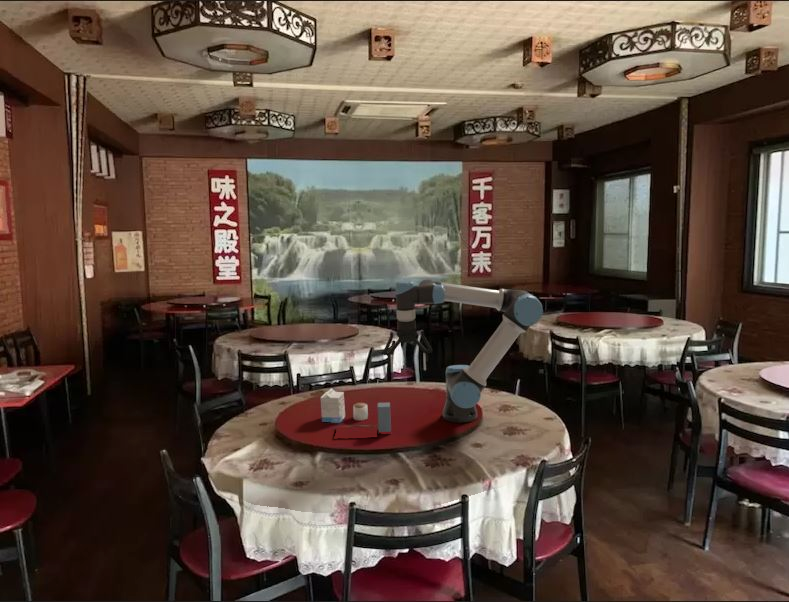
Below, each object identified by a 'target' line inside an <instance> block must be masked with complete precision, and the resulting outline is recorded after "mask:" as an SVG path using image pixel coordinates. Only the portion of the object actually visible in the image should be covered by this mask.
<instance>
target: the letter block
mask: <svg viewBox="0 0 789 602" xmlns="http://www.w3.org/2000/svg"><path fill="white" fill-rule="evenodd" d="M391 422H392V421H391V402H377V423H378V424H377V425H378V433H379V432H390V431H391V432H392V423H391Z"/></svg>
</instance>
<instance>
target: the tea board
mask: <svg viewBox="0 0 789 602" xmlns="http://www.w3.org/2000/svg"><path fill="white" fill-rule="evenodd" d="M369 426H370V427H372V426H375V427H376V426H378V424H366V425H365V424H364V425H363V424H362V425H361V424H360V425H340V426H339V425H337V426H335V428H336V427H369Z"/></svg>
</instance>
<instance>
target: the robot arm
mask: <svg viewBox="0 0 789 602" xmlns="http://www.w3.org/2000/svg"><path fill="white" fill-rule="evenodd" d="M444 302H452V303H457V304H458V303H459V304H466V305H473V306H479V307H484V308H485V307H488V308H491V309H493V308H494V309H496V311H498V312H503V313H502V321H501V323H500V324H499V326H498V327H497V328H496V330H495V331H494V332H493V334H492V335H491V336H490V338H489V339H488V341H487V342H486V343H485V344H484V346H483V347H482V348H481V350H480V351H479V352H478V354H477V355H476V357H475V358H474V360H473V361H472V362H471V363H470V365H468V364H454V365H449V366H447V367H446V369H445V387H446V389H445V390H446V391H445V394H446V400H445V403H444V407H443V410H442V418H443V420H446V421H448V422H451V423H459V424H461V423H462V422H464V423H469V422H473V421H475V420H476V419H477V418H478V411H477V407H476V405H477V404H478V403H479V401H480V400H481V396H482V394H481V393H483V391H484V389H485V388H486V386H487V379H488V377H489V376H490V374H491V373H492V372H493V370H494V369H495V368H496V366H497V365H498V364H499V363H500V361H502V359H503V357H504V356H505V355H506V354H507V352H508V351H509V349H510V348H511V346H512V345H513V344H514V342H516V339H517V338H519V336H520V335H521V334H524V333H526V332H528V330H529V329H530V327H531V326H534V325H535V324H538V322H540V320H541V319H542V316H543V314H544V313H543V312H544V310H543V307H544V306H543V304H542V302H541V301H540V300H539V298H537V296H534V295H533V294H531V293H530V292H528V291H527V290H522V289H521V290H520V289H508V288H507V289H506V288H500V289H498V290H497V289H492V288H491V289H490V288H485V287H475V286H470V285H469V286H468V285H462V284H454V283H450V282H449V283H447V282H441V281H433V280H432V279H427V278H426V279H423V280H421V281H420V282H419V284H418V285H415V283H414V281H413V280H401V281H398V282H396V283H395V307H396V320H397V321H396V325H397V326H396V327H397V329H396V330H397V331H393V330H391V331H390V332H389V338H388V340H387V342H386V345H385V346H384V349H383V352H382V354H383V356H387V364H389V365H390V371H391V373H394V360H393V358H394V357H393V353H394V352H395V351H396V349H397V348H398V346H399V345H400V344H401V343H412V342H413V343H415V345H417V347H418V348H419V349H420V350H421V351H422V352H423V355H422V356H423V357H422V358H423V371H426V370H427V364H426V363H427V362H429V354H432V353H433V348H432V346H431V345H430V343H429V341H428V339H427V337H426V336H425V332H424V330H423V329H421V330H417V324H416V323H417V321H416V305H432V304H433V305H437V304H443V303H444ZM396 336H397V337H398V339H397V340H396V341H395V342H394V343H393V345H392V347H391V348H390V346H391V343H392V341H393V339H394V338H395V337H396ZM417 336H419V337H421V339H422V341H423V342H424V344H425V346H426V347H425V346H424V345H423V344H422V343H421V342H420V340H418V339H417V338H416V337H417ZM389 348H390V349H389Z"/></svg>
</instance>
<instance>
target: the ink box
mask: <svg viewBox="0 0 789 602" xmlns="http://www.w3.org/2000/svg"><path fill="white" fill-rule="evenodd" d="M344 395H345V392H344V391H335V390H334V389H333V388H332V387H331V388H330V389H329V390H328V391H326V392H324V394H322V395H321V396H320V410H321V422H331V423H330V424H341V423H340V422H342V421H343V420H344V419H345V418H346V410H345V409H346V407H345V396H344Z"/></svg>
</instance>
